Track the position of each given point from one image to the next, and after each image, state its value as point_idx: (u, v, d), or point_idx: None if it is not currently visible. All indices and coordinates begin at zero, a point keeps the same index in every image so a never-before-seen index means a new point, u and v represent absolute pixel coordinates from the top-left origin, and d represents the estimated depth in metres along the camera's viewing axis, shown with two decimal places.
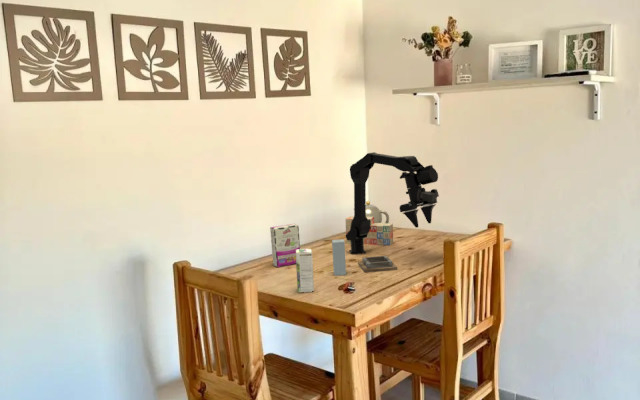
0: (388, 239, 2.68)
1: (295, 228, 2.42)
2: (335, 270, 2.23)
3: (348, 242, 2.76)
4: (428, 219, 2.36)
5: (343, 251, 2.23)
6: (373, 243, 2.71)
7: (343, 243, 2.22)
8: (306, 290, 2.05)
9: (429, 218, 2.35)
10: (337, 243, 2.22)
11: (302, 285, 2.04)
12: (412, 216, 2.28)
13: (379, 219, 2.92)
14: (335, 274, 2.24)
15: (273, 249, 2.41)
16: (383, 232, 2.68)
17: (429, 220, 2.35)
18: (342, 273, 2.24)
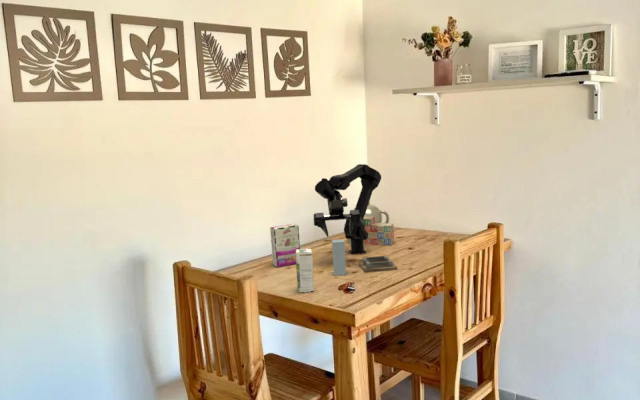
0: (389, 239, 2.68)
1: (295, 228, 2.42)
2: (335, 270, 2.23)
3: (349, 242, 2.76)
4: (349, 231, 2.33)
5: (343, 251, 2.22)
6: (374, 243, 2.71)
7: (343, 243, 2.22)
8: (306, 290, 2.05)
9: (350, 229, 2.33)
10: (337, 243, 2.22)
11: (302, 285, 2.04)
12: (323, 226, 2.34)
13: (379, 219, 2.92)
14: (335, 274, 2.24)
15: (273, 249, 2.41)
16: (384, 232, 2.68)
17: (350, 231, 2.32)
18: (342, 273, 2.24)
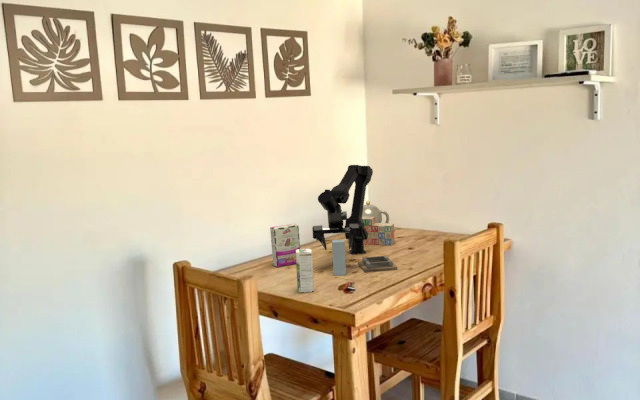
0: (389, 239, 2.68)
1: (295, 228, 2.42)
2: (335, 270, 2.23)
3: None
4: None
5: (343, 251, 2.22)
6: (374, 243, 2.71)
7: (343, 243, 2.22)
8: (306, 290, 2.05)
9: (349, 243, 2.28)
10: (337, 243, 2.22)
11: (302, 285, 2.04)
12: (322, 240, 2.29)
13: (379, 219, 2.92)
14: (335, 274, 2.24)
15: (273, 249, 2.41)
16: (384, 232, 2.68)
17: None
18: (342, 273, 2.24)
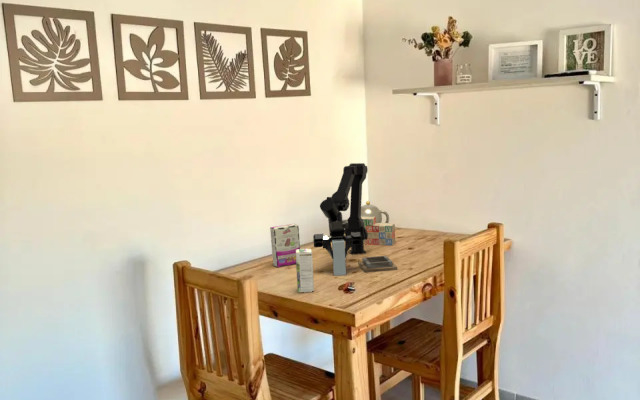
0: (390, 239, 2.68)
1: (295, 228, 2.42)
2: (335, 270, 2.23)
3: None
4: None
5: (343, 251, 2.22)
6: (375, 243, 2.71)
7: (343, 243, 2.22)
8: (306, 290, 2.05)
9: None
10: (337, 243, 2.22)
11: (302, 285, 2.04)
12: (328, 248, 2.26)
13: (379, 219, 2.92)
14: (335, 274, 2.24)
15: (273, 249, 2.41)
16: (385, 232, 2.68)
17: None
18: (342, 273, 2.24)
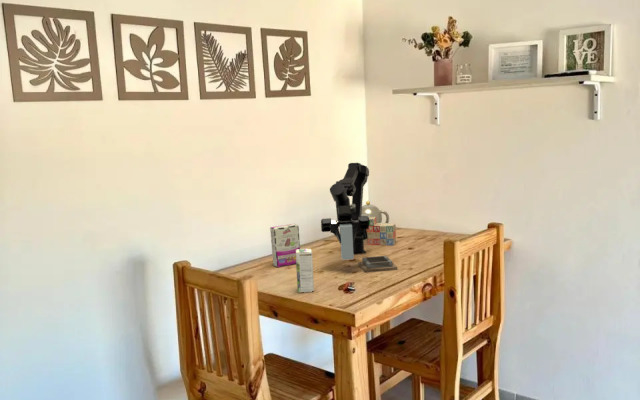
0: (391, 239, 2.67)
1: (295, 228, 2.42)
2: (343, 254, 2.24)
3: None
4: None
5: (351, 235, 2.23)
6: (376, 243, 2.70)
7: (351, 227, 2.23)
8: (306, 290, 2.05)
9: None
10: (345, 227, 2.23)
11: (302, 285, 2.04)
12: None
13: (379, 219, 2.92)
14: (343, 258, 2.25)
15: (273, 249, 2.41)
16: (386, 232, 2.68)
17: None
18: (350, 257, 2.25)
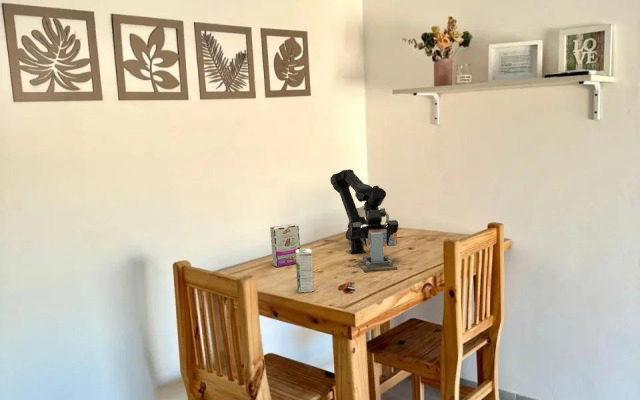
0: (392, 239, 2.67)
1: (295, 228, 2.42)
2: (373, 261, 2.30)
3: None
4: (386, 241, 2.31)
5: (381, 242, 2.29)
6: None
7: (381, 234, 2.29)
8: (306, 290, 2.05)
9: (386, 240, 2.31)
10: (375, 234, 2.29)
11: (302, 285, 2.04)
12: (362, 236, 2.33)
13: None
14: None
15: (273, 249, 2.41)
16: None
17: (386, 242, 2.31)
18: None
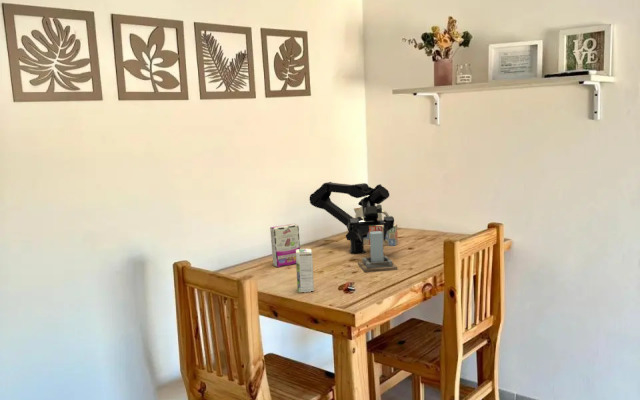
0: (393, 239, 2.67)
1: (295, 228, 2.42)
2: (373, 261, 2.30)
3: None
4: (383, 236, 2.40)
5: (381, 242, 2.29)
6: None
7: (381, 234, 2.29)
8: (306, 290, 2.05)
9: (383, 235, 2.40)
10: (375, 234, 2.29)
11: (302, 285, 2.04)
12: (358, 232, 2.42)
13: (379, 219, 2.92)
14: None
15: (273, 249, 2.41)
16: (388, 232, 2.67)
17: (383, 237, 2.40)
18: None
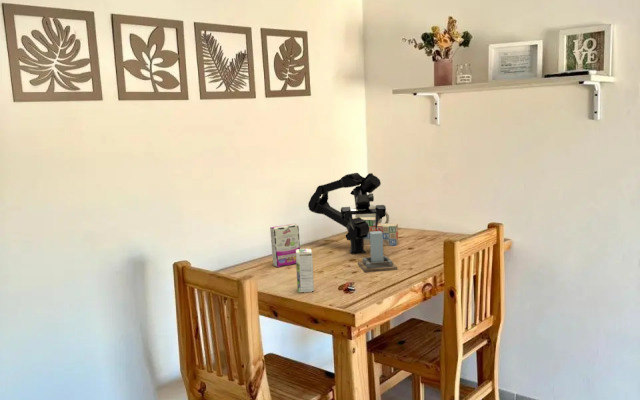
0: (394, 239, 2.67)
1: (295, 228, 2.42)
2: (373, 261, 2.30)
3: None
4: (375, 225, 2.42)
5: (381, 242, 2.29)
6: None
7: (381, 234, 2.29)
8: (306, 290, 2.05)
9: (375, 223, 2.42)
10: (375, 234, 2.29)
11: (302, 285, 2.04)
12: (350, 220, 2.44)
13: None
14: None
15: (273, 249, 2.41)
16: (389, 232, 2.67)
17: (375, 225, 2.42)
18: None
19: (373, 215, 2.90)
